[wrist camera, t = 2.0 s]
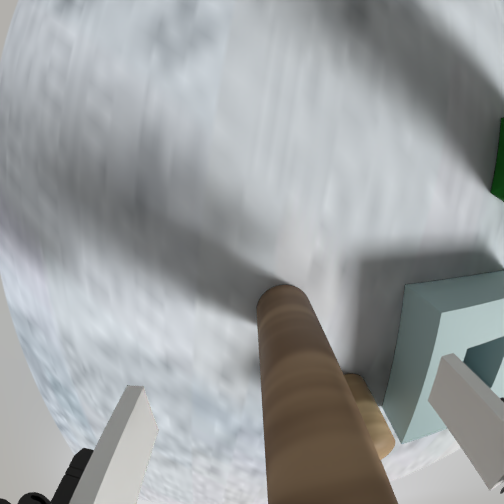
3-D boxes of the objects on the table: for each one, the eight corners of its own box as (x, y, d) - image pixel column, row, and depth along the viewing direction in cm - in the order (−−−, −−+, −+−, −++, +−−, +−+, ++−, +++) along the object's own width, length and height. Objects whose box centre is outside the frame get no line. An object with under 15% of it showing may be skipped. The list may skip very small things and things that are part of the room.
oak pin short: (325, 377, 21) (348, 442, 14) (367, 370, 21) (401, 429, 14) (321, 408, 22) (340, 471, 15) (361, 402, 22) (388, 460, 15)
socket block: (405, 284, 19) (441, 312, 14) (505, 269, 19) (541, 287, 14) (382, 406, 22) (401, 444, 17) (476, 377, 22) (500, 403, 17)
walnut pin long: (255, 286, 19) (270, 546, 4) (310, 282, 19) (427, 510, 4) (258, 334, 20) (272, 572, 5) (309, 330, 20) (385, 551, 5)
